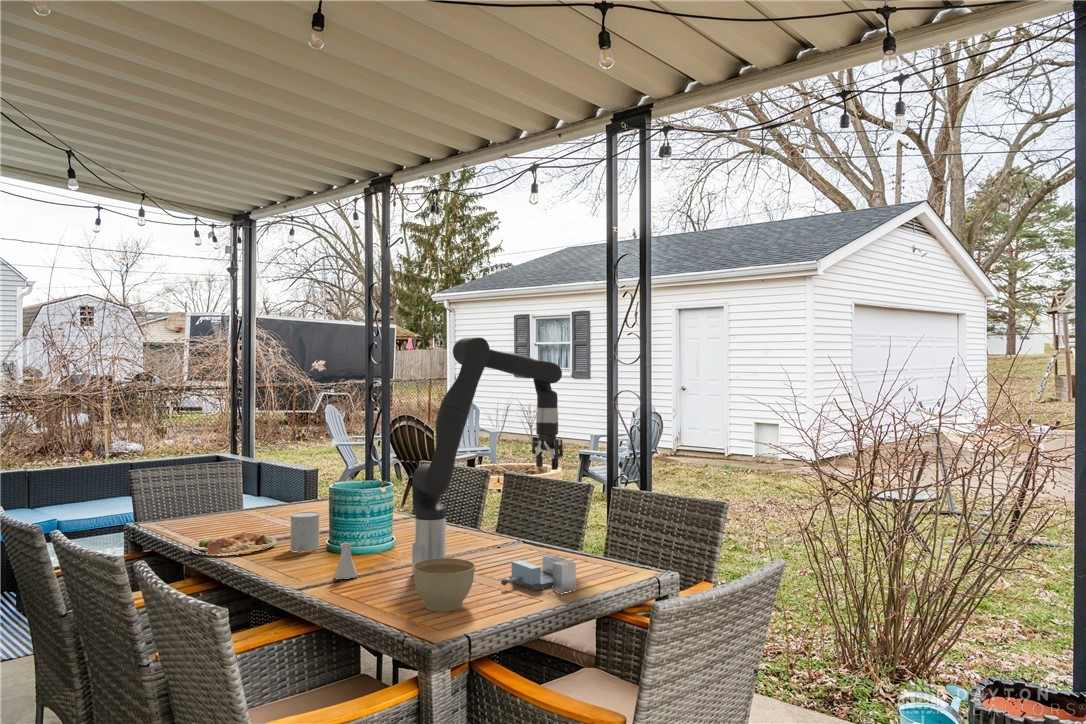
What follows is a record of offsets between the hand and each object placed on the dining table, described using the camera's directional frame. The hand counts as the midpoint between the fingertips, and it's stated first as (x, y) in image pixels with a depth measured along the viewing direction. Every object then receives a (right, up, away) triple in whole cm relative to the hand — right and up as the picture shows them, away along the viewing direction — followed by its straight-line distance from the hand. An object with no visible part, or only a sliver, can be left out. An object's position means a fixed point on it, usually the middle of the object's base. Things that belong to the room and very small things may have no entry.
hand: (547, 468), depth 247 cm
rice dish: (-110, -30, +6) cm, 114 cm away
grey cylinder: (-84, -29, +4) cm, 89 cm away
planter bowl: (-27, -28, -59) cm, 70 cm away
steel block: (+5, -28, -44) cm, 53 cm away
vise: (-2, -28, -35) cm, 45 cm away
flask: (-61, -28, -31) cm, 74 cm away
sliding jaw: (-9, -27, -41) cm, 50 cm away
